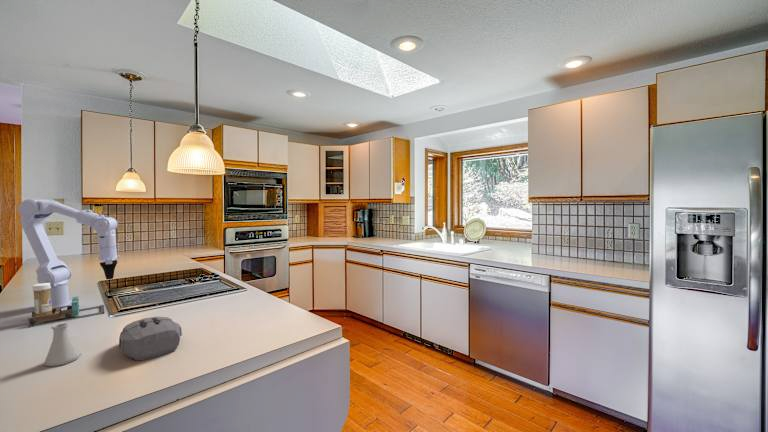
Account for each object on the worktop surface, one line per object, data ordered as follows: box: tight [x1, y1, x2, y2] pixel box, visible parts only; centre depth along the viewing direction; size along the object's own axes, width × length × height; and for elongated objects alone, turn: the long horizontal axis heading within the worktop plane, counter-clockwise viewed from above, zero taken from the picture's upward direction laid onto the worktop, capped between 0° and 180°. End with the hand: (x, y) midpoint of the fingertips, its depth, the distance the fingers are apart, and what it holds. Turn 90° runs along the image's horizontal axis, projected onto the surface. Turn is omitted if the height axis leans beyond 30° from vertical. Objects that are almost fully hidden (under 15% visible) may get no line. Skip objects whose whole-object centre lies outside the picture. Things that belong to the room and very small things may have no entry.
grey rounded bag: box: [118, 316, 183, 361], centre depth 101 cm, size 15×8×20 cm
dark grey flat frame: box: [28, 304, 105, 328], centre depth 128 cm, size 11×20×1 cm, turn 130°
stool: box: [27, 296, 80, 325], centre depth 125 cm, size 11×13×5 cm
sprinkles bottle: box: [32, 283, 52, 317], centre depth 123 cm, size 5×5×14 cm
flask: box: [43, 322, 82, 367], centre depth 93 cm, size 7×7×10 cm
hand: (109, 278), depth 141 cm, fingers closed
